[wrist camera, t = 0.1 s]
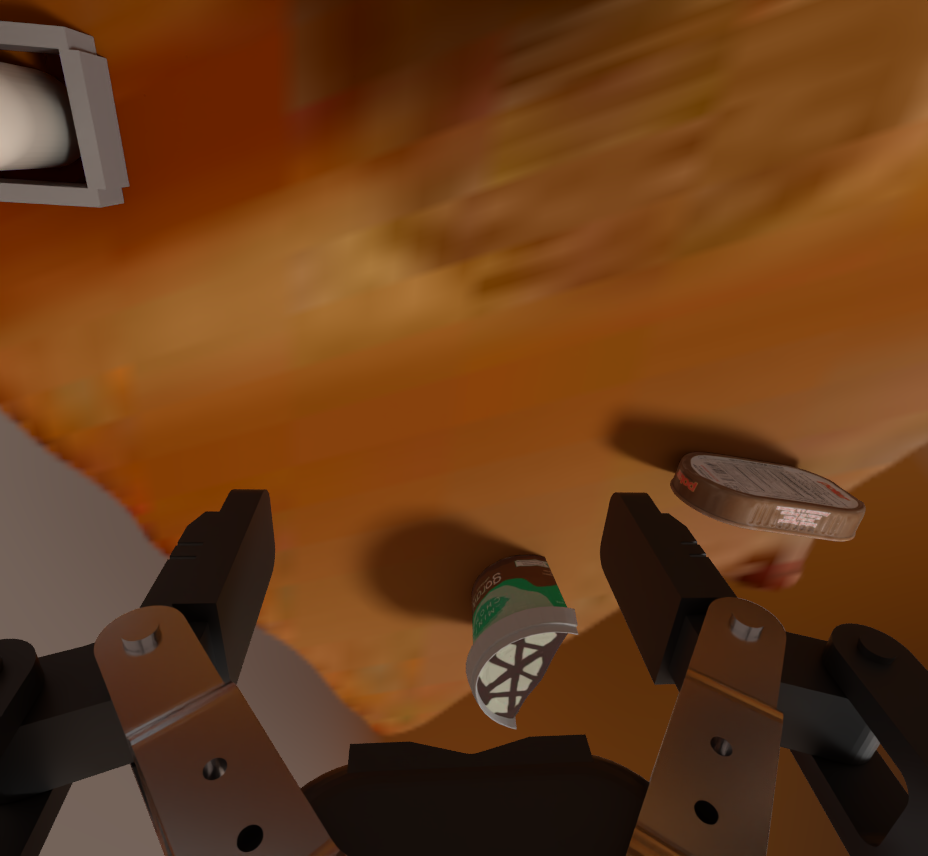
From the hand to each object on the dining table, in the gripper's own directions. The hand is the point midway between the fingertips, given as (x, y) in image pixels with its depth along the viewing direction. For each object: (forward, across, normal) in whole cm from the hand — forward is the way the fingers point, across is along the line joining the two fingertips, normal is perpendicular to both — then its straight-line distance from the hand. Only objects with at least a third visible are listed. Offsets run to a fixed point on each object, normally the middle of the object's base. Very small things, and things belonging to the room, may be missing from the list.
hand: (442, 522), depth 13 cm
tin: (+29, -28, +15) cm, 43 cm away
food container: (+29, -8, +29) cm, 42 cm away
